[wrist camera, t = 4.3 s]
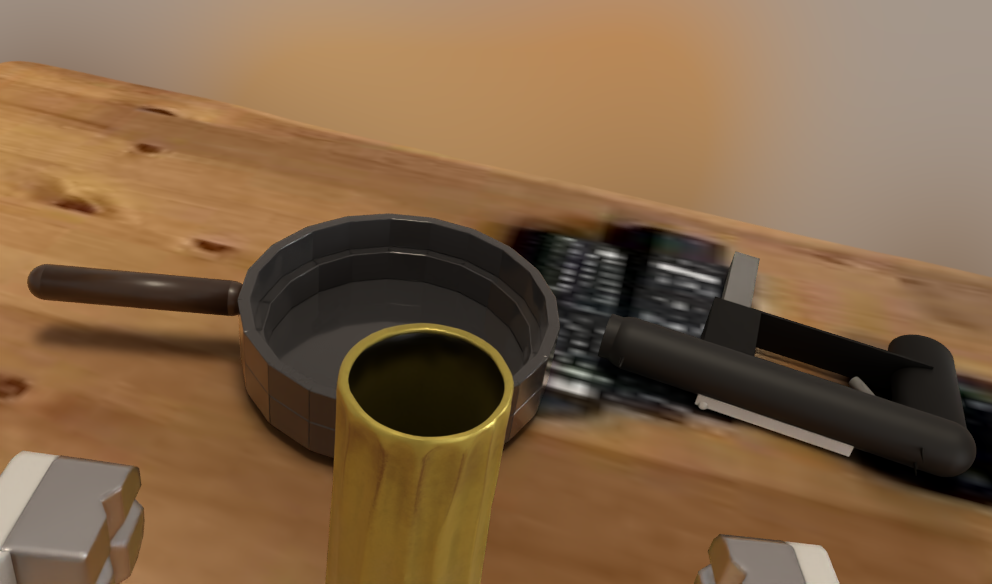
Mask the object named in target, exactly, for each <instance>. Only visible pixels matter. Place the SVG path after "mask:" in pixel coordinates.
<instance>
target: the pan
mask: <svg viewBox="0 0 992 584" xmlns="http://www.w3.org/2000/svg"><path fill="white" fill-rule="evenodd" d="M238 319H239V338H240V356H241V363H242V369H243V375H244V380H245V386H246V391H247V393H248V394H249V396H250V397H251V398H252V400H253V401H254V403H255V404H256V405H257V407H258V408H259V409H260V411H261V412H262V414H263V415H264V416H265V418H266V419H267V421H268V422H269V423H270V424H271V425H273V426H274V427H276V428H277V429H279V430H280V431H282V432H283V433H285V434H286V435H287V436H289V437H290V438H292V439H293V440H295V441H296V442H298V443H299V444H301V445H302V446H304V447H305V448H307V449H310V451H313V452H316V453H319V454H322V455H325V456H328V457H331V458H334V449H335V426H336V390H337V381H338V375H339V370H340V367H341V364H342V361H343V360H344V358H345V356H346V355H347V353H348V352H349V351H350V349H351V348H352V347H353V346H355V345H356V344H357V343H358V342H359V341H361V340H362V339H364V338H366V337H367V336H369V335H370V334H372V333H375V332H377V331H380V330H382V329H385V328H389V327H393V326H398V325H405V324H414V323H431V324H439V325H444V326H449V327H453V328H457V329H461V330H464V331H467V332H469V333H471V334H473V335H475V336H477V337H479V338H481V339H483V340H484V341H486V342H487V343H488V344H490V345H491V346H492V347H494V348H495V349H496V350H497V351H498V352H499V354H500V355H501V356H502V358H503V359H504V361H505V363H506V364H507V366H508V368H509V370H510V372H511V374H512V377H513V382H514V390H513V398H512V402H511V410H510V415H509V419H508V424H507V428H506V434H505V440H504V443H506V442H508V441H509V440H510V439H511V438H512V437H513V436H514V435H515V434H516V433H517V432H518V431H519V430H520V429H521V428H522V427H523V426H524V425H525V424H526V423H527V422H528V421H529V420H530V419H531V418H532V417H533V416H534V415H535V414H536V412H537V409H538V407H539V404H540V401H541V399H542V396H543V393H544V391H545V388H546V385H547V382H548V378H549V374H550V369H551V365H552V361H553V356H554V352H555V348H556V343H557V339H558V335H559V330H560V324H559V317H558V310H557V303H556V298H555V296H554V294H553V293H552V291H551V289H550V288H549V286H548V285H547V283H546V282H545V280H544V278H543V277H542V275H541V274H540V272H539V271H538V270H537V269H536V268H535V267H534V266H533V265H531V264H530V263H529V262H528V261H527V260H525V259H524V258H523V257H522V256H521V255H519V254H518V253H517V252H516V251H515V250H513V249H512V248H511V247H509V246H507V245H505V244H503V243H501V242H499V241H497V240H495V239H493V238H491V237H489V236H487V235H485V234H483V233H481V232H479V231H477V230H474V229H472V228H468V227H464V226H461V225H457V224H453V223H450V222H446V221H443V220H439V219H435V218H429V217H419V216H409V215H399V214H375V215H360V216H347V217H342V218H339V219H335V220H331V221H327V222H323V223H319V224H316V225H312V226H308V227H305V228H303V229H301V230H300V231H298V232H296V233H294V234H292V235H290V236H288V237H286V238H284V239H282V240H281V241H279V242H277V243H275V244H273V245H272V246H271V247H270V248H269V249H268V250H267V251H266V252H265V253H264V254H263V255H262V256H261V257H260V258H259V259H258V260H257V261H256V262H255V263H254V264H253V265H252V266H251V267H250V268H249V270H248V271H247V274H246V277H245V279H244V282H243V285H242V288H241V291H240V294H239V296H238Z"/></svg>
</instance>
